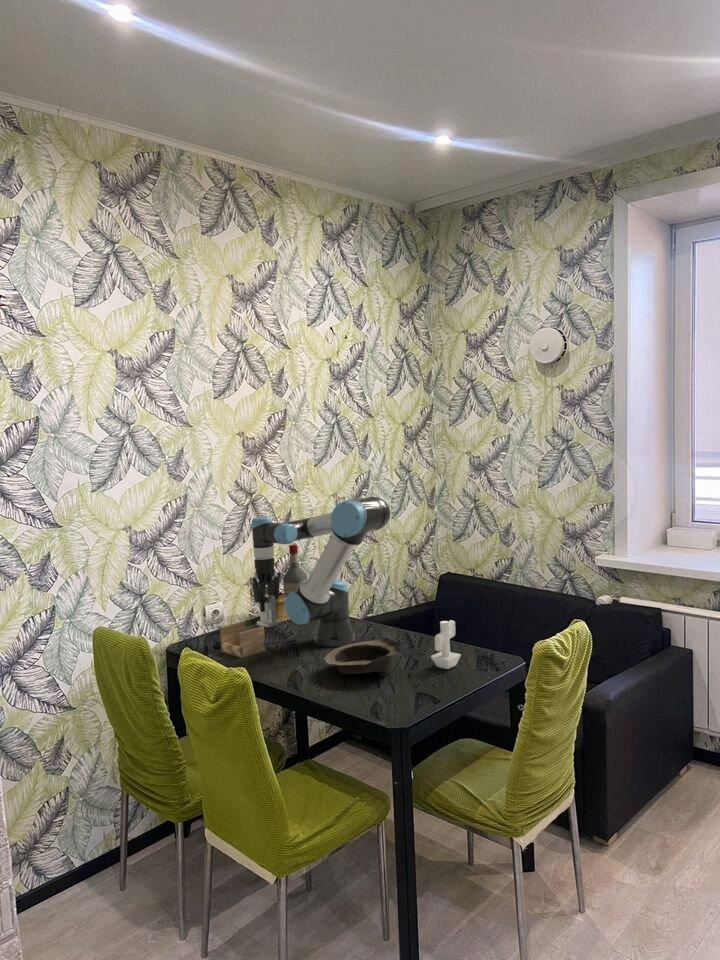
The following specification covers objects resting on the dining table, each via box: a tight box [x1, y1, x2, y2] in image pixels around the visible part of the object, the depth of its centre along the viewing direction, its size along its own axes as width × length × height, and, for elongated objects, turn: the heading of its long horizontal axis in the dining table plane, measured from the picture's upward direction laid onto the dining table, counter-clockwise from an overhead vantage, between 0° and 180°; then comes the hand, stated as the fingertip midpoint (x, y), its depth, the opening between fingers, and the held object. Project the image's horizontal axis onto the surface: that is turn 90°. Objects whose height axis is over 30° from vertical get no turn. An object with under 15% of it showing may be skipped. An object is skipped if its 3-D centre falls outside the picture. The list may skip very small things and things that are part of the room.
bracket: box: [256, 594, 282, 628], centre depth 280 cm, size 7×6×11 cm
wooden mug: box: [258, 584, 290, 623], centre depth 309 cm, size 9×14×18 cm, turn 128°
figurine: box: [430, 619, 462, 670], centre depth 242 cm, size 7×9×15 cm
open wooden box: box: [219, 621, 266, 659], centre depth 269 cm, size 13×11×9 cm
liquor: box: [282, 544, 308, 597], centre depth 320 cm, size 9×9×30 cm
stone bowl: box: [323, 637, 400, 678], centre depth 241 cm, size 25×25×9 cm
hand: (268, 618), depth 281 cm, fingers closed on bracket, 2 cm apart
